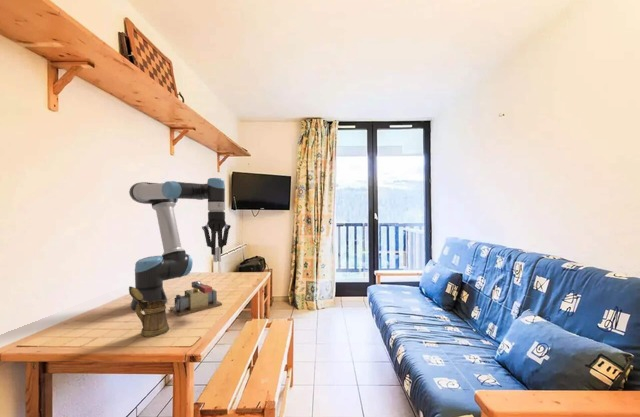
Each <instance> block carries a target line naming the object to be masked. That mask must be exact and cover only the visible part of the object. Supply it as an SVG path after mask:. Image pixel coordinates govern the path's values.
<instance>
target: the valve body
mask: <svg viewBox="0 0 640 417" xmlns="http://www.w3.org/2000/svg"><path fill="white" fill-rule="evenodd" d="M217 293H218V292H217V291H216V289H213V288H212V292H210V293H206V294H205V293H203V292H201V291H200V290H199V289H197V288H192V289H188V290H184V295H180V294H176V295H175V297H174V306H170V307H169V311H171V312H172V313H173V314H174V315H176V316H177V317H181V316H185V315H189V313H190V314H192V313H193V312H194V313H197V312H201V311H204V310H209V309H213V308H216V307H220V306H223V302H221V301H219V300H218V299H217V298H218V296H217V295H218V294H217ZM194 313H193V314H194Z"/></svg>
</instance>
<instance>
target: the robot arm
mask: <svg viewBox="0 0 640 417" xmlns="http://www.w3.org/2000/svg"><path fill="white" fill-rule="evenodd" d="M225 190H226V185H225V180H224V179H223V178H220V177H219V178H218V177H209V178H208V179H207V182H206V183H196V182H185V181H184V182H181V181H174V180H170V181H169V180H168V181H165V182H161V183H159V182H147V181H142V182H136V183H134V184H133V185H131V186H130V188H129V191H128V193H129V196H130V198H131V199H132V200H133V201H135V203H136V202H137V203H139V204H145V205H146V204H148V205H149V204H150V205H151V208H152V209H153V210H154V211H155V213H156V217H157V224H158V228H159V234H160V238H161V243H162V244H161V245H162V247H163V253H162V254H161V255H153V256H152V255H151V256H147V257H143V258H141V259H138V260H137V261H136V262H135V263H134V265H135V266H134V282H135V285H134V286H135V287H134V288H136V289H138V290H139V291H140V292H141V293H142V295H143V299H144V301H148V303H150V302H152V301H157V300H164V304H165V305H166V304H167V303H168V297H167V294H166V292H165V289H164V285H163V282H164V281H170V280H173V279H178V278H180V279H181V278H182V277H186V276H188V275H190V273H191V271H192V269H193V258H192V256H191V255H190V254H188V253H187V252H186V250H185V249H184V248H182V243H181V238H180V233H179V229H178V225H177V220H176V214H175V209H174V208H175V206H176V204H177V203H178V200H181V199H182V200H197V201H198V200H201V201H203V200H207V211H208V212H207V223H206V224H205V225H203V226H201V229H202V231H203V232H204V239H205V243H206V246H207V248H208V247H209V248H210V250H211V253H210V254H211V255H212V256H213V258H212V260H213V261H212V262H214V263H217V262H221V261H222V257H221V256H222V254H223V248H224V246H227V244H228V238H229V237H228V236H229V231H230V228H231V225H230V224H227V222H226V212H225V210H226V202H225V201H226V200H225V199H226V194H225ZM209 229H210V230H209ZM216 242H217V243H216ZM216 244H217V246H216ZM137 303H138V302H137V301H136V300H134V299H133V298H132V299H131V303H130V308H131V310H133V311H134V310H135V311H136V305H137ZM144 309H145V308H142V309H141V311H144Z"/></svg>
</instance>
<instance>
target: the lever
mask: <svg viewBox="0 0 640 417" xmlns="http://www.w3.org/2000/svg"><path fill="white" fill-rule="evenodd" d="M191 288H192V289H193V288H197V289H199V290H200V291H201V292H203V293H205V294H206V293H210V292H212V289H213V287H212V286H211V285H208V284H203V283H202V281H200V280H198V281H197V280H196V281H192V282H191Z"/></svg>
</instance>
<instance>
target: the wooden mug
mask: <svg viewBox="0 0 640 417" xmlns="http://www.w3.org/2000/svg"><path fill="white" fill-rule="evenodd" d="M128 292H129V296H131V298H132V299H134V300H136V301H137V302H138V303H137V305H136V310H135V314H136V316H137V318H138V319H139V320H140V322H141V325H142V328H141V332H140V333H141V335H142V336H143V337H147V338H148V337H156V336H160V335H163V334H164V333H167V332H168V331H169V330H170V325H169V322H168V317H167V312H166V311H167V310H166V309H167V306H166V304H164V300H157V301H152V302H150V303H148V301H144V299H143V295H142V293H141V292H140V291H139V290H138V289H136V288H135V287H133V286H129V287H128ZM142 308H145V309H144V310H143V313H142V310H141V309H142Z"/></svg>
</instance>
